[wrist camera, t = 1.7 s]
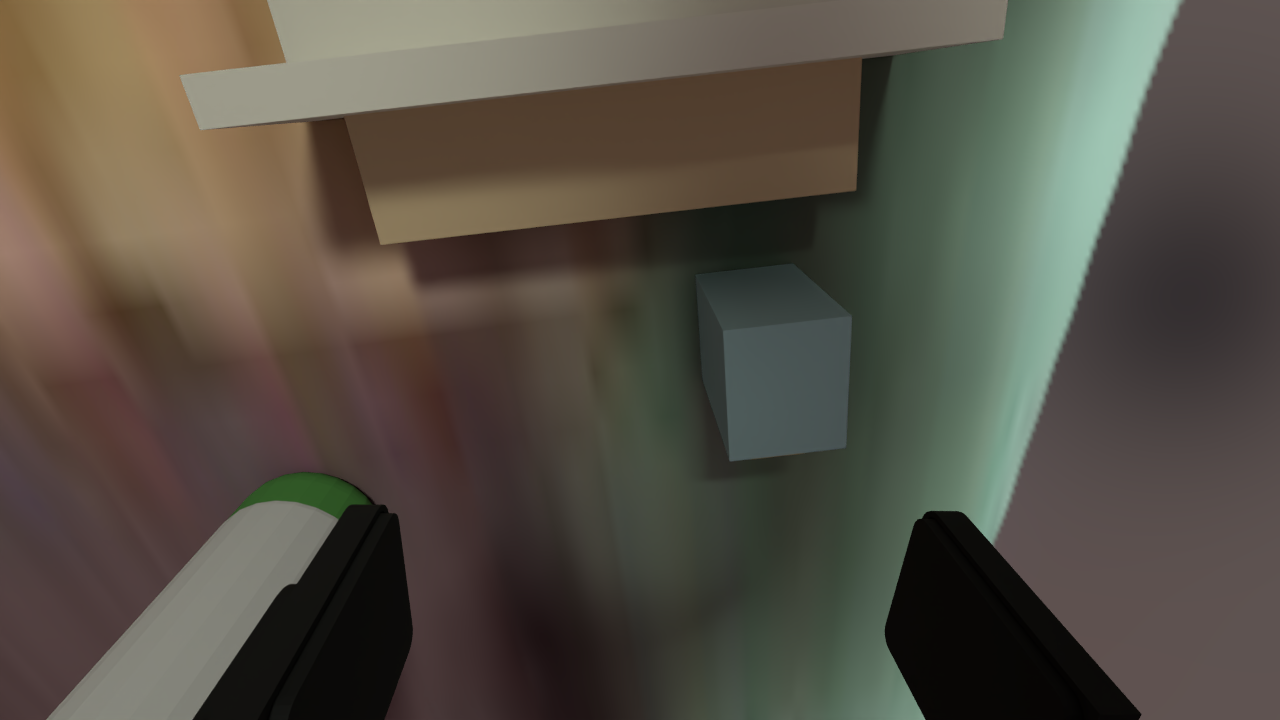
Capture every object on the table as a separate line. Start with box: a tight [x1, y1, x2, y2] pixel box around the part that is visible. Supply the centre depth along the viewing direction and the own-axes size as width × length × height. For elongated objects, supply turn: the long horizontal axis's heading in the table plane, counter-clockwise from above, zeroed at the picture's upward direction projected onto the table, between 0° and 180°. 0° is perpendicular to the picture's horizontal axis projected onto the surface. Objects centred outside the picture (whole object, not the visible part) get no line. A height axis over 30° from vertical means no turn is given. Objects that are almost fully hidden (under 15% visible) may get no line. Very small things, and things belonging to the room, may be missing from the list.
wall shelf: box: [179, 0, 1008, 245], centre depth 23 cm, size 11×26×8 cm, turn 96°
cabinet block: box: [695, 263, 852, 461], centre depth 28 cm, size 7×5×8 cm
